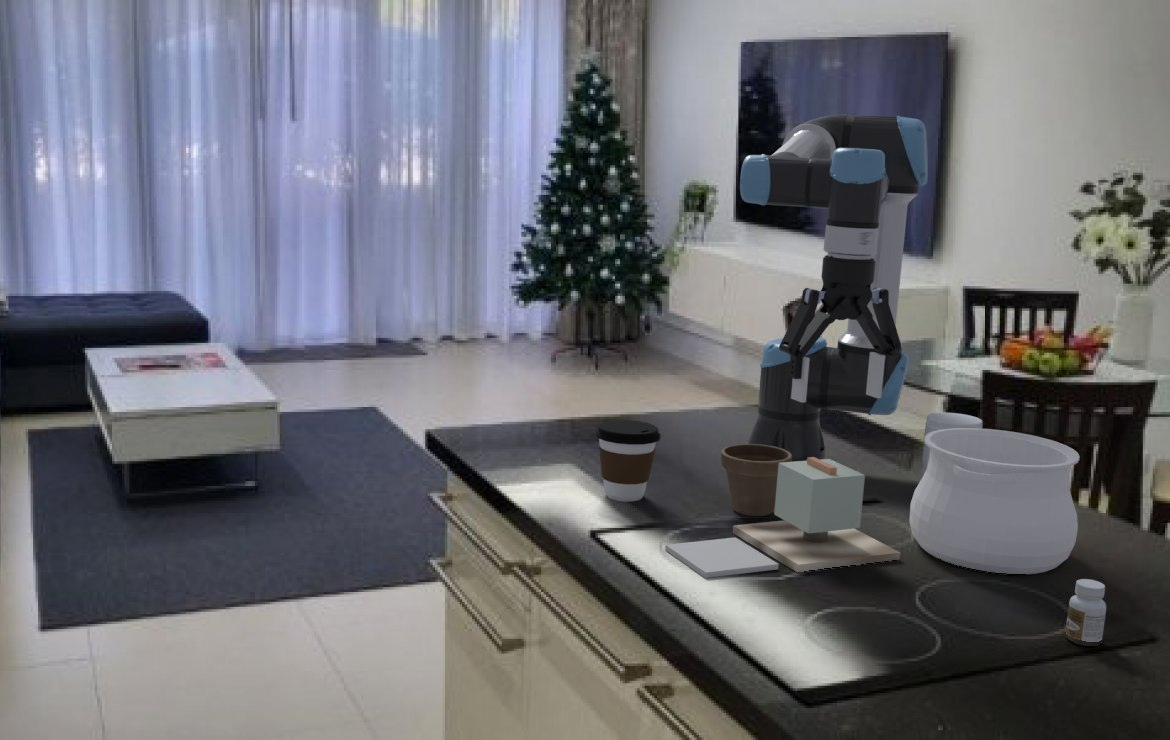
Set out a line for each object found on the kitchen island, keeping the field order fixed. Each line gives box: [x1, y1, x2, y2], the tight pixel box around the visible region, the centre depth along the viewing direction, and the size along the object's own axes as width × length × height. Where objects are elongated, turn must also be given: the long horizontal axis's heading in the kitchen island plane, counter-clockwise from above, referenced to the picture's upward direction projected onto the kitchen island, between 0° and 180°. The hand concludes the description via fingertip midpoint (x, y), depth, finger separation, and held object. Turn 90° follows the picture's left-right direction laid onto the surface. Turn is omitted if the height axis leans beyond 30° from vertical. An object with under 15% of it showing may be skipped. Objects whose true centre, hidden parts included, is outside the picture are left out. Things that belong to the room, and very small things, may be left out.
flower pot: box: [720, 443, 792, 517], centre depth 210 cm, size 12×11×10 cm
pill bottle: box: [1065, 578, 1107, 642], centre depth 163 cm, size 4×4×8 cm
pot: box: [909, 428, 1081, 575], centre depth 194 cm, size 26×24×17 cm
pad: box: [664, 537, 779, 579], centre depth 187 cm, size 12×12×1 cm
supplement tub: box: [919, 412, 983, 482], centre depth 221 cm, size 10×10×15 cm
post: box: [732, 520, 901, 573], centre depth 193 cm, size 18×18×11 cm
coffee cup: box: [594, 419, 662, 503], centre depth 214 cm, size 11×11×12 cm
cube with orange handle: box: [773, 457, 866, 533], centre depth 193 cm, size 9×9×9 cm
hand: (836, 398), depth 190 cm, fingers open, 13 cm apart
